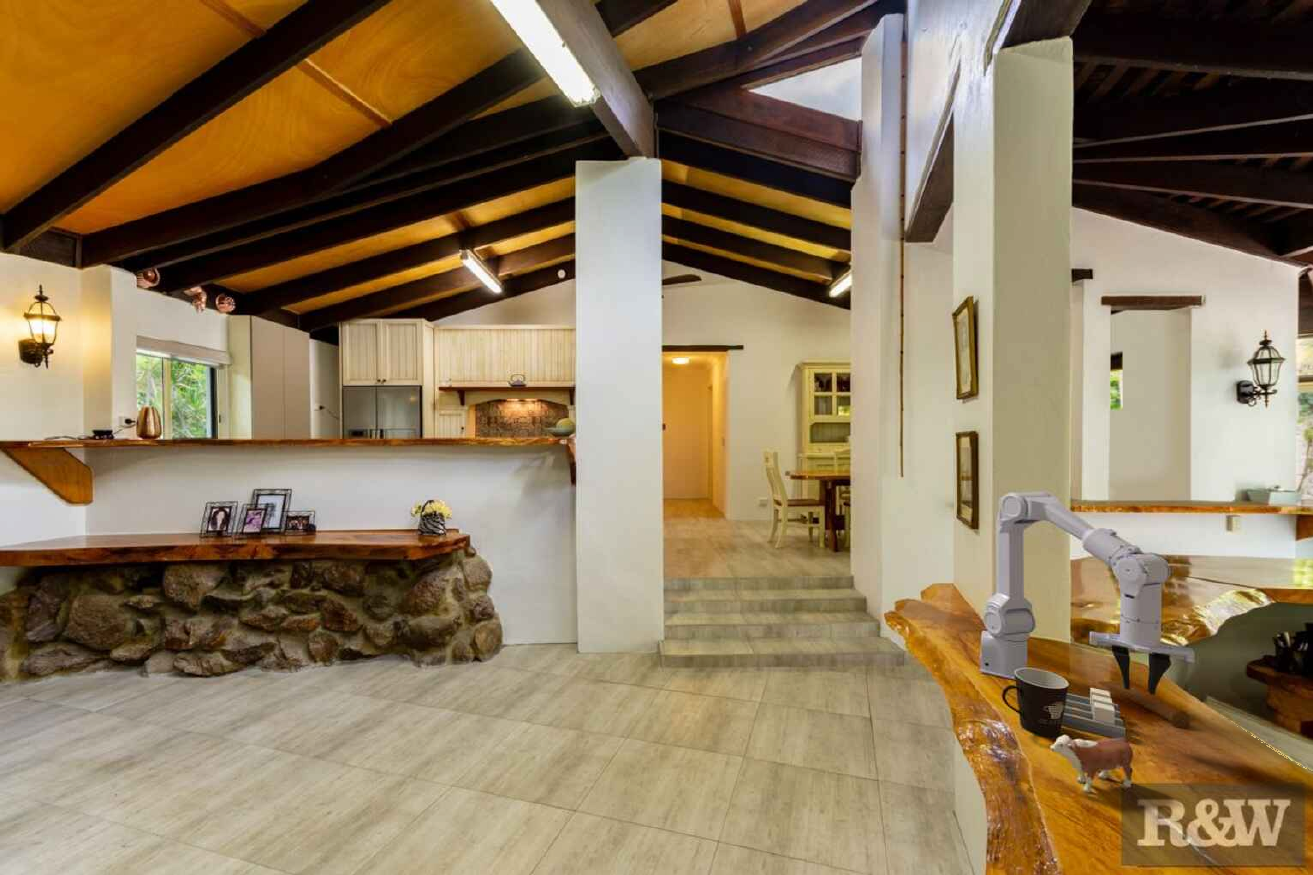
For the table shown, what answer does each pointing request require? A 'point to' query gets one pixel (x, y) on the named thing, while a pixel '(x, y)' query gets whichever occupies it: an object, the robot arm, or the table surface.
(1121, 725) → the switch board
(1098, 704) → the tab
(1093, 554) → the robot arm
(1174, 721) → the primitive tool
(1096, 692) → the tab
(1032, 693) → the coffee mug
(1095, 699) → the tab
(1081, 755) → the bull figurine
